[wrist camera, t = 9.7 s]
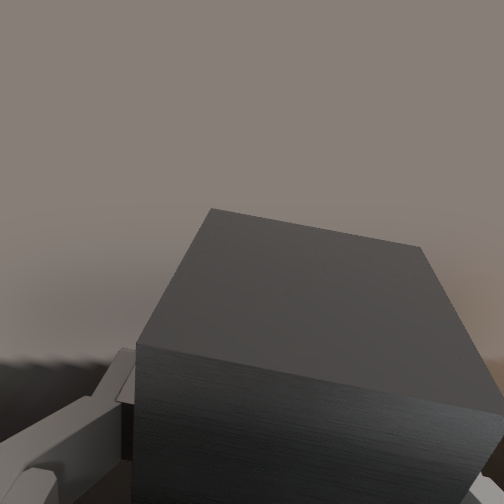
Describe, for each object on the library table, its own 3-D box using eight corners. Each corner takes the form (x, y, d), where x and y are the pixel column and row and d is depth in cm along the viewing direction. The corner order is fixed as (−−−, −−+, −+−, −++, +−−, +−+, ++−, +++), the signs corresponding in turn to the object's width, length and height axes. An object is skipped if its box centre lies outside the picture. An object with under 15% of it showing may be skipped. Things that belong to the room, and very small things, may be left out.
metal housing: (126, 662, 10) (136, 342, 6) (180, 473, 15) (211, 208, 10) (330, 707, 10) (514, 418, 5) (322, 502, 14) (420, 247, 10)
